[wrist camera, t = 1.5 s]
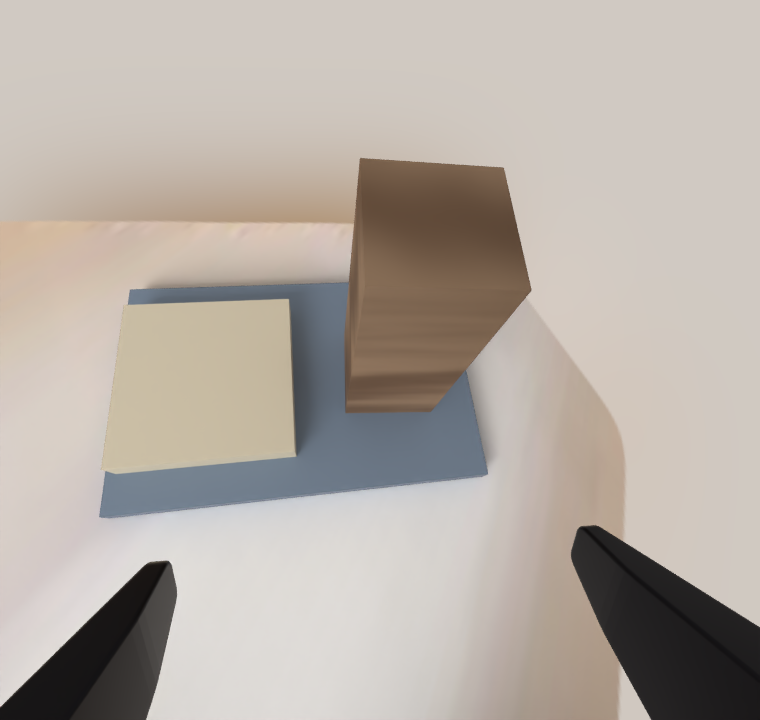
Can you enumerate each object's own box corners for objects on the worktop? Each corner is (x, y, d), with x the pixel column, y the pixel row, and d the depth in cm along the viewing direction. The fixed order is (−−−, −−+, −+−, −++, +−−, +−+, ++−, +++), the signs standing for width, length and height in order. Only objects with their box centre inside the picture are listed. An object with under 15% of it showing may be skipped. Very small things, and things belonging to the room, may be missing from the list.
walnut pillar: (430, 412, 24) (531, 290, 12) (345, 413, 24) (365, 286, 12) (423, 335, 26) (503, 167, 14) (344, 335, 25) (359, 158, 14)
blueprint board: (442, 287, 29) (452, 266, 27) (482, 476, 24) (498, 470, 22) (136, 298, 26) (118, 275, 24) (109, 518, 21) (82, 515, 19)
